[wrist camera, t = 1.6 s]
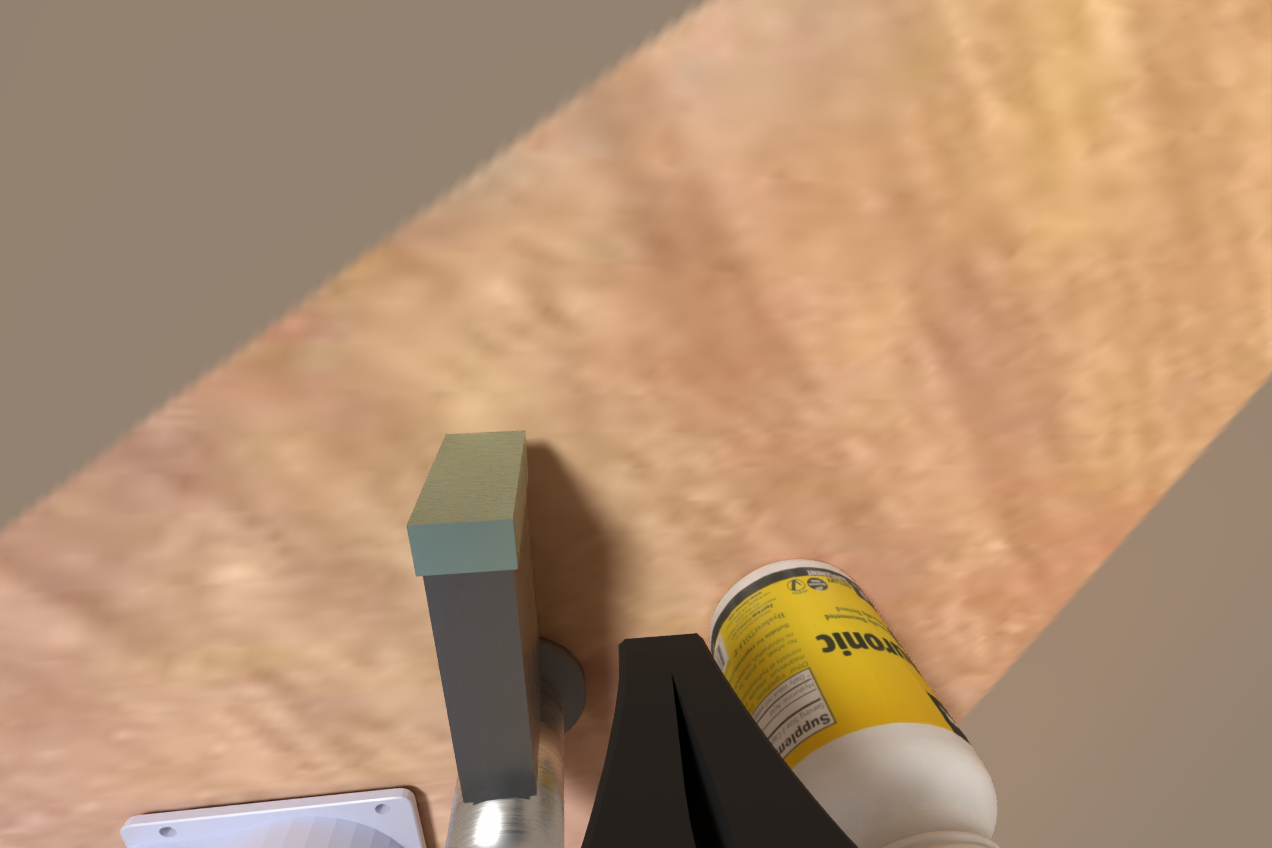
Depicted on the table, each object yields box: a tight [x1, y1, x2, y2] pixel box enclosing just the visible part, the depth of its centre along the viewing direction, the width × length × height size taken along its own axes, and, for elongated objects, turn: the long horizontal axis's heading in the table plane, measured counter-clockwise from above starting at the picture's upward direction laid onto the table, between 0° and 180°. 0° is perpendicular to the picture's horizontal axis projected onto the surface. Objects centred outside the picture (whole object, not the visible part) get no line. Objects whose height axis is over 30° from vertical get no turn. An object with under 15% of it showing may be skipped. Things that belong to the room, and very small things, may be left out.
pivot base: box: [539, 638, 585, 733], centre depth 20 cm, size 4×4×1 cm
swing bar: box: [407, 431, 564, 848], centre depth 15 cm, size 11×3×5 cm, turn 0°
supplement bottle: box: [709, 559, 1000, 848], centre depth 16 cm, size 5×5×10 cm
